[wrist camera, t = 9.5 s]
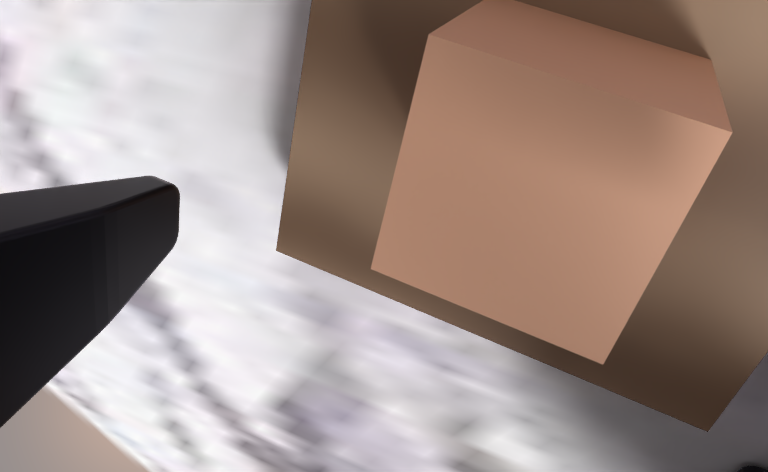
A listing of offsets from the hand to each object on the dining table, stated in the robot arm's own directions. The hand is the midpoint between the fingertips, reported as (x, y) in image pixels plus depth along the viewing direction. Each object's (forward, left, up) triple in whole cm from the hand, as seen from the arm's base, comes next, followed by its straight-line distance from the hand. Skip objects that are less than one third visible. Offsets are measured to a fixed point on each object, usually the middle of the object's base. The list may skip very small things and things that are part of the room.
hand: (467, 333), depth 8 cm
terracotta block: (0, 0, -9) cm, 9 cm away
